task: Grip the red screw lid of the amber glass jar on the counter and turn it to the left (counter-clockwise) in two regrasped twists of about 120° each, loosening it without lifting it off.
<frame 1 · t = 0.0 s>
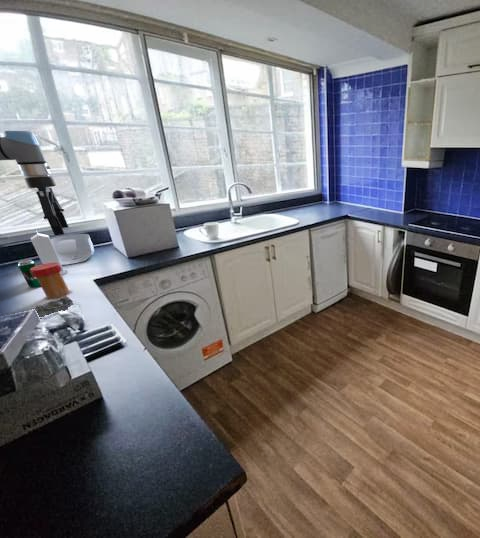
hand: (62, 231, 118), 26 cm above the table, tool pointing down, fingers open, 13 cm apart
milk: (57, 274, 145), on the table
egg carton: (55, 311, 111), on the table
soda can: (37, 286, 133), on the table
bowl: (75, 259, 165), on the table
lid: (45, 267, 119), point 13 cm above the table, screwed on, not yet turned
jar: (58, 295, 124), on the table
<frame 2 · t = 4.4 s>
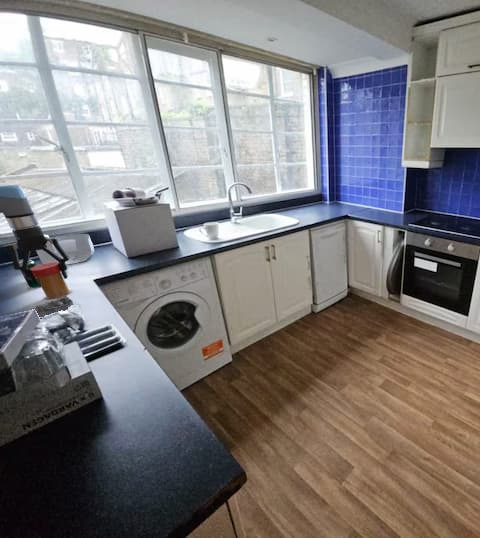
hand: (51, 280, 121), 7 cm above the table, tool pointing down, fingers closed on lid, 8 cm apart
lid: (45, 267, 119), point 13 cm above the table, screwed on, not yet turned, touching gripper
everything else where it was.
when the fingers open (7 cm above the table, at t = 6.6 s): lid stays where it is, point 13 cm above the table.
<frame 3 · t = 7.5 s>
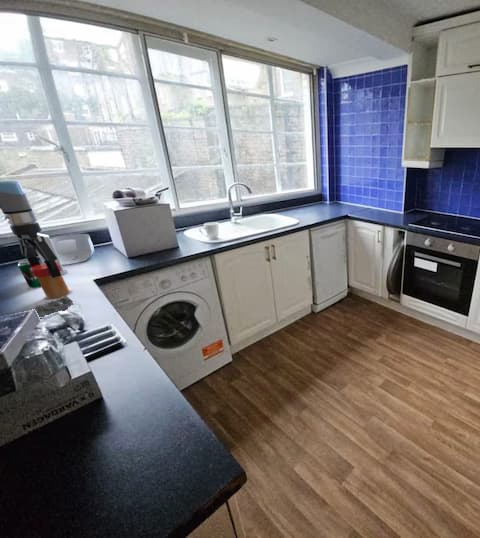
hand: (47, 274, 120), 10 cm above the table, tool pointing down, fingers open, 13 cm apart
lid: (45, 267, 119), point 13 cm above the table, turned 120° so far, risen 0.1 cm, still on its thread
everything else where it was.
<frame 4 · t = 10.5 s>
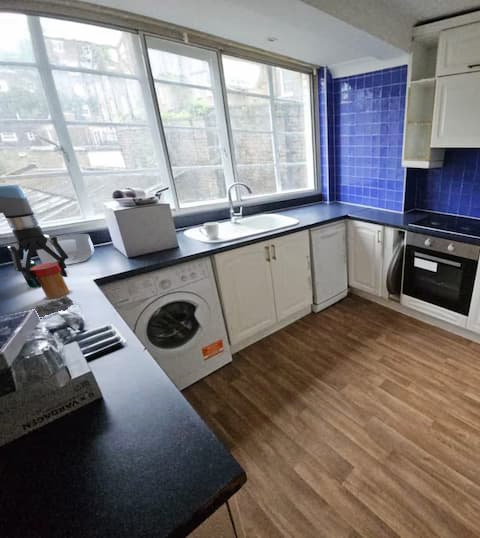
hand: (51, 280, 121), 7 cm above the table, tool pointing down, fingers closed on lid, 8 cm apart
lid: (45, 267, 119), point 13 cm above the table, turned 120° so far, risen 0.1 cm, still on its thread, touching gripper
everything else where it was.
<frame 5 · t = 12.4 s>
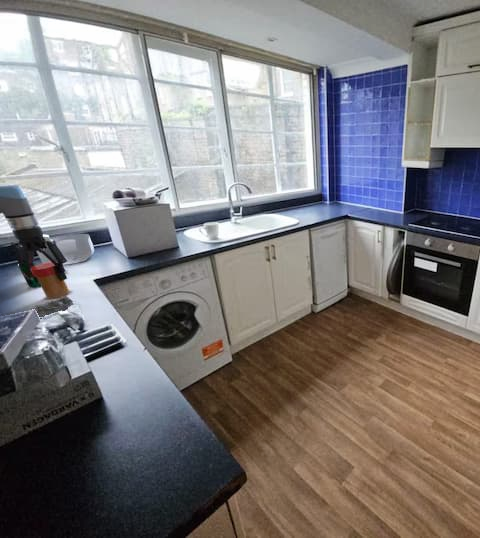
hand: (51, 280, 121), 7 cm above the table, tool pointing down, fingers closed on lid, 8 cm apart
lid: (45, 267, 119), point 13 cm above the table, turned 239° so far, risen 0.2 cm, still on its thread, touching gripper
everything else where it was.
when the fingers open (7 cm above the table, at t = 12.6 s): lid stays where it is, point 13 cm above the table.
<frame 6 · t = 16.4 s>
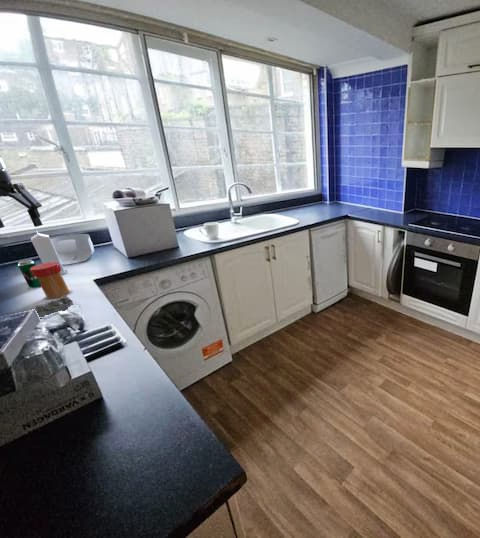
hand: (19, 227, 116), 29 cm above the table, tool pointing down, fingers open, 13 cm apart
lid: (45, 267, 119), point 13 cm above the table, turned 239° so far, risen 0.2 cm, still on its thread
everything else where it was.
at the end: lid turned 0.67 turns (still on its thread); the gripper is holding nothing; jar moved 0.0 cm from its start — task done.
